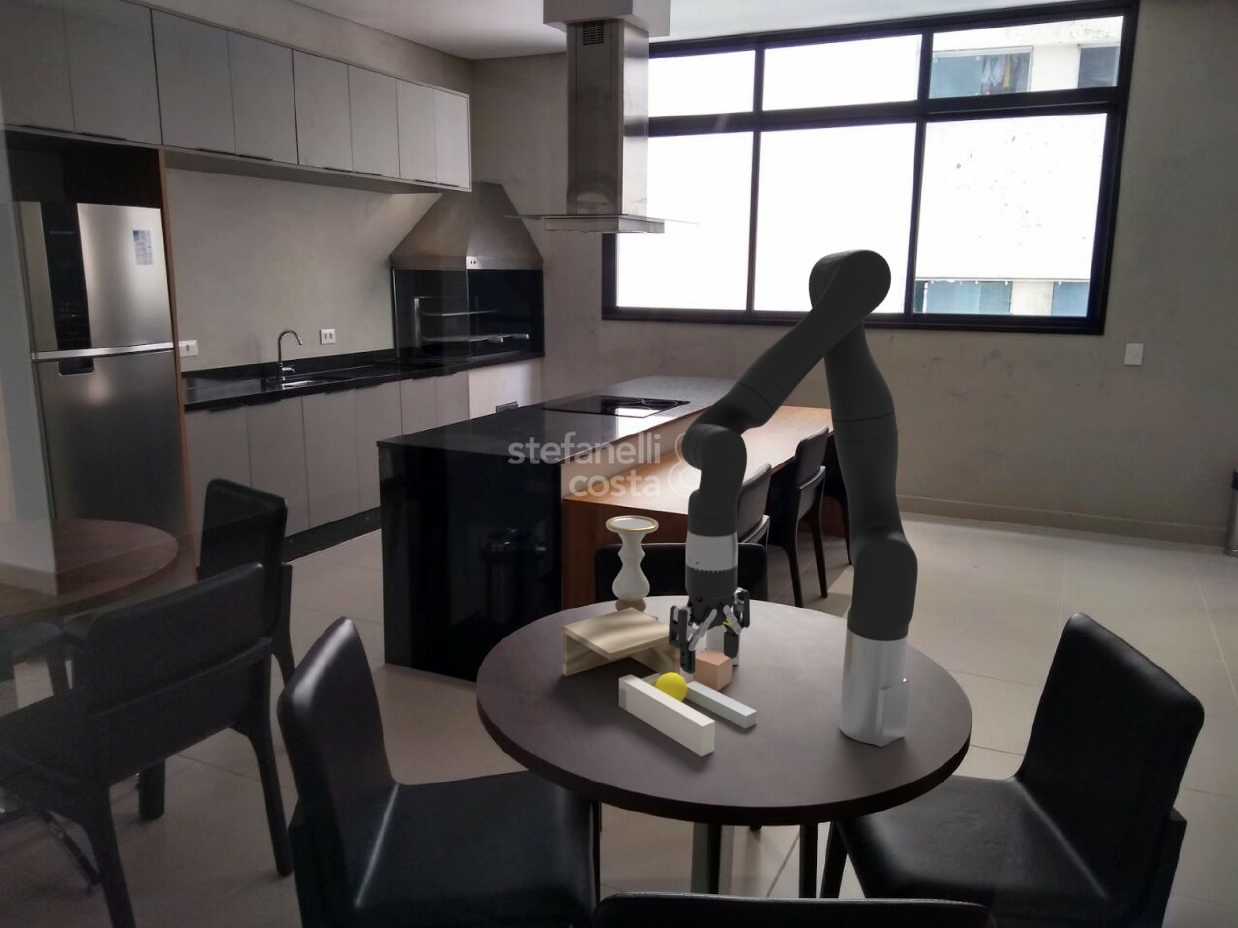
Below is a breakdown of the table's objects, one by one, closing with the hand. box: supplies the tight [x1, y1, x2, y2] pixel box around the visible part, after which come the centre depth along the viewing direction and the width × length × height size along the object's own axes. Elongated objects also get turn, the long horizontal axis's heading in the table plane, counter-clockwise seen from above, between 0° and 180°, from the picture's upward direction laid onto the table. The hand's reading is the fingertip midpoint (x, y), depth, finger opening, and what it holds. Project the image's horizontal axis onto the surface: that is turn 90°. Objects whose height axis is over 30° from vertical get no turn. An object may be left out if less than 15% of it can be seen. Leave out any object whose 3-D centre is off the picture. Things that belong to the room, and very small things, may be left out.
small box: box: [705, 606, 741, 666], centre depth 167 cm, size 8×6×10 cm
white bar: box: [618, 672, 716, 757], centre depth 143 cm, size 20×9×5 cm, turn 39°
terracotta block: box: [692, 648, 733, 692], centre depth 156 cm, size 5×5×5 cm
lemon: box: [654, 672, 688, 703], centre depth 148 cm, size 7×5×5 cm
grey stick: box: [684, 680, 758, 730], centre depth 147 cm, size 14×3×2 cm, turn 41°
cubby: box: [562, 607, 681, 677], centre depth 157 cm, size 14×16×9 cm
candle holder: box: [605, 515, 659, 621], centre depth 173 cm, size 11×11×24 cm
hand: (709, 663), depth 131 cm, fingers open, 8 cm apart
